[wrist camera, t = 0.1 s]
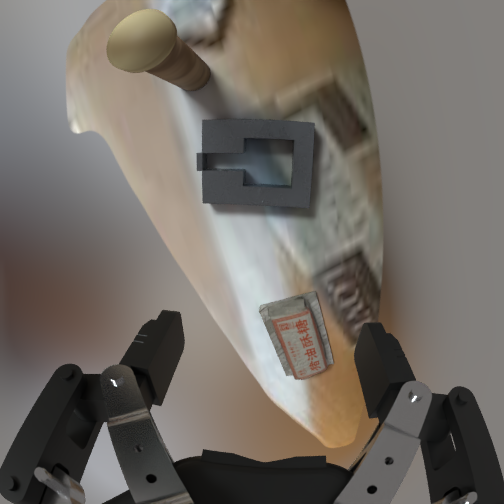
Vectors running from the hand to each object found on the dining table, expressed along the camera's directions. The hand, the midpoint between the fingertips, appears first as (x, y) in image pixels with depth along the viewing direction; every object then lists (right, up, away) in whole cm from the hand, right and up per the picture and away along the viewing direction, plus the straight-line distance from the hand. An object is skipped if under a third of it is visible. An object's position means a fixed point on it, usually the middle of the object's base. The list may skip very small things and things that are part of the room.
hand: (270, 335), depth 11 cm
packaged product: (+8, -12, +37) cm, 40 cm away
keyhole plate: (0, +16, +25) cm, 30 cm away
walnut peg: (-9, +29, +21) cm, 36 cm away
